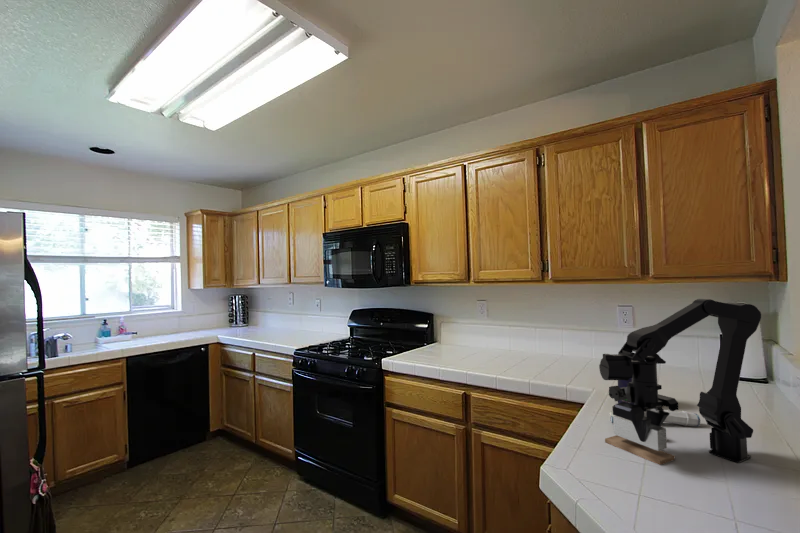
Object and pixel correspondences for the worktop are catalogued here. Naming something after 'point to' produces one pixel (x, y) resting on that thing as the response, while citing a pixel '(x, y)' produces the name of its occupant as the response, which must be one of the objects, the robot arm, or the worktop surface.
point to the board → (640, 450)
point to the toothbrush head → (678, 418)
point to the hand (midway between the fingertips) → (647, 439)
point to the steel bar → (628, 431)
